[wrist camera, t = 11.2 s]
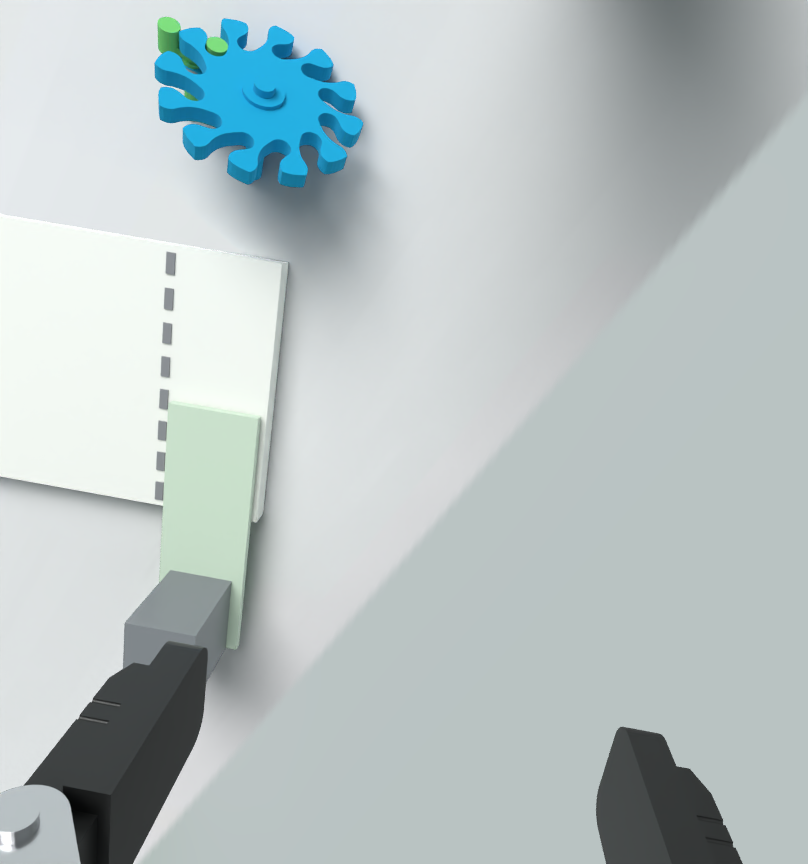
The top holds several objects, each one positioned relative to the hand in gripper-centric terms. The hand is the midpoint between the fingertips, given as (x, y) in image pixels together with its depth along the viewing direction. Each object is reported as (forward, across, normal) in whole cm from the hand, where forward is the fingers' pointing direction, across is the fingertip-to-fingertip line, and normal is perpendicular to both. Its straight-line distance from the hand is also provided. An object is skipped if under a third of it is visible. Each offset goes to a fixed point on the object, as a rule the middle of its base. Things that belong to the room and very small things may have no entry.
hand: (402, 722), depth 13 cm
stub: (+26, +13, +11) cm, 31 cm away
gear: (+28, +12, -14) cm, 34 cm away
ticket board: (+28, +22, +2) cm, 36 cm away
